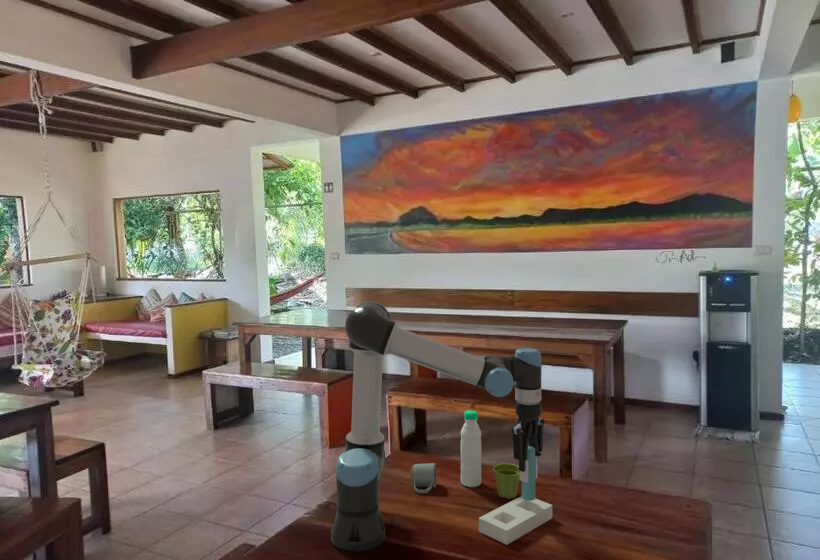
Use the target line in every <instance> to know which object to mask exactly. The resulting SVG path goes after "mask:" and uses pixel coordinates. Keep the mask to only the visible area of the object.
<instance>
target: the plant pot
mask: <svg viewBox="0 0 820 560" xmlns="http://www.w3.org/2000/svg"><path fill="white" fill-rule="evenodd" d="M492 470H493V472H494V476H495V481H496V487H497V488H496V489H497V495H498V496H499V497H500V498H505V499H516V497H517V495H518V489H519V484H520V480H519V465H517V464H513V463H498V464H496V465H494V466H493V467H492Z"/></svg>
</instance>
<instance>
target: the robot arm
mask: <svg viewBox="0 0 820 560" xmlns="http://www.w3.org/2000/svg"><path fill="white" fill-rule="evenodd" d="M391 319H392V318H391V315H390V312H389V311H388V309H387V308H386V307H385V306H384V305H383V304H380V303H379V302H375V301H367V302H366V301H365V302H363V303H360V304H358V305H357V306H356V307H355V308H354V309H353V310H352V311H351V312H350V313H349V314H348V315H347V317H346V319H345V324H344V327H345V328H344V329H345V334H346V336H347V338H348V340H349V343H348V345H349V346H348V347H349V349H350V350H351V351H352V353H353V372H352V400H351V401H352V402H351V403H352V404H351V426H350V427H351V428H350V429H351V431H349V432H348V433H347V434H346V436H345V451H344V452H342V453H341V454H340V455H339V456H338V458H337V461H336V466H335V475H336V478H335V480H336V514H335V519H334V521H333V525H332V527H331V530H330V538H331V539H330V541H331V543H332V544H333V546H334V547H336V548H338V549H340V550H342V551H347V552H364V551H368V550H372V549H375V548H377V547H379V546H380V545H381V544H382V543H383V542H384V541H385V540H386V527H385V524H384V521H383V518H382V514H381V511H380V508H379V507H380V505H379V502H380V501H379V500H380V499H379V498H380V497H379V493H380V492H379V491H380V490H379V483H380V478H381V475H382V471H383V468H384V465H385V463H386V450H385V436H384V434H383V433H382V432H381V409H382V408H381V407H382V385H383V384H382V382H383V381H382V379H383V361H384V359H383V358H384V357H383V356H387V355H392V356H395V357H399V358H401V359H403V360H406V361H409V362H411V363H414V364H417V365H420V366H422V367H425V368H428V369H430V370H433V371H436V372H438V373H440V374H444V375H446V376H449V377H452V378H454V379H457V380H460V381H463V382H465V383H468V384H471V385H473V386H476V387H478V388H481V389H483V390H486V392H488V393H489V395H491V396H493V397H495V398H502V397H505V396H507V395H509V394H511V392H512V390H513V388H514V386H515V388H514V390H515V394H514V399H515V405H514V406H515V414H516V416H517V417H518V420H517V425H515V426H511V428H510V429H511V433H512V445H513V447H512V449H513V450H512V451H513V459H515V460H518V466H519V482H520V481H521V482H522V481H523V482H526V483H528V460H527V451H528V446H532V447H534V448H535V479H537V478H538V465H539V464H538V463H539V461H538V460H539V457H541V456H542V452H543V450H544V449H543V448H544V425H545V421H546V420H545V419H544V418H541V415H542V403H541V401H542V370H543V369H542V368H543V365H542V355H541V354H542V352H540V351H539V350H538V349H535V348H531V347H530V348H529V347H523V348H518V349H516V350H515V351H514V352H515V353H514V355H509V356H507V355H506V356H501V355H500V356H498V355H495V356H493V355H483V356H482V355H481V356H476V355H473V354H470V353H467V352H466V351H462V350H461V349H457V348H455V347H452V346H449V345H447V344H444V343H441V342H439V341H436V340H434V339H431V338H427V337H426V336H424V335H419V334H417V333H414V332H412V331H409V330H407V329H404V328H402V327H400V326H399V324H398V322H396V321H394V320H391ZM514 383H515V385H514Z"/></svg>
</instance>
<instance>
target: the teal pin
mask: <svg viewBox="0 0 820 560" xmlns="http://www.w3.org/2000/svg"><path fill="white" fill-rule="evenodd" d="M527 460H528V483H526V482H523V481H521V496H522V499H524V500H528V501H531V500H534V499H536V478H535V448H534V447H532V446H529V445H528V451H527Z"/></svg>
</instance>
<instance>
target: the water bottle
mask: <svg viewBox="0 0 820 560" xmlns="http://www.w3.org/2000/svg"><path fill="white" fill-rule="evenodd" d="M463 413H464V414H463V419H464V423H463V426H462V428H461V430H460V436H461V438H460V484H461V485H463V486H464V487H466V486H467V487H468V488H476V487H479V486H480V485H481V484H482V464H481V463H482V430H481V429H480V426H479V424H478V419H479V413H478V412H477V411H476V410H472V409H471V410H465V411H464V412H463Z"/></svg>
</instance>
